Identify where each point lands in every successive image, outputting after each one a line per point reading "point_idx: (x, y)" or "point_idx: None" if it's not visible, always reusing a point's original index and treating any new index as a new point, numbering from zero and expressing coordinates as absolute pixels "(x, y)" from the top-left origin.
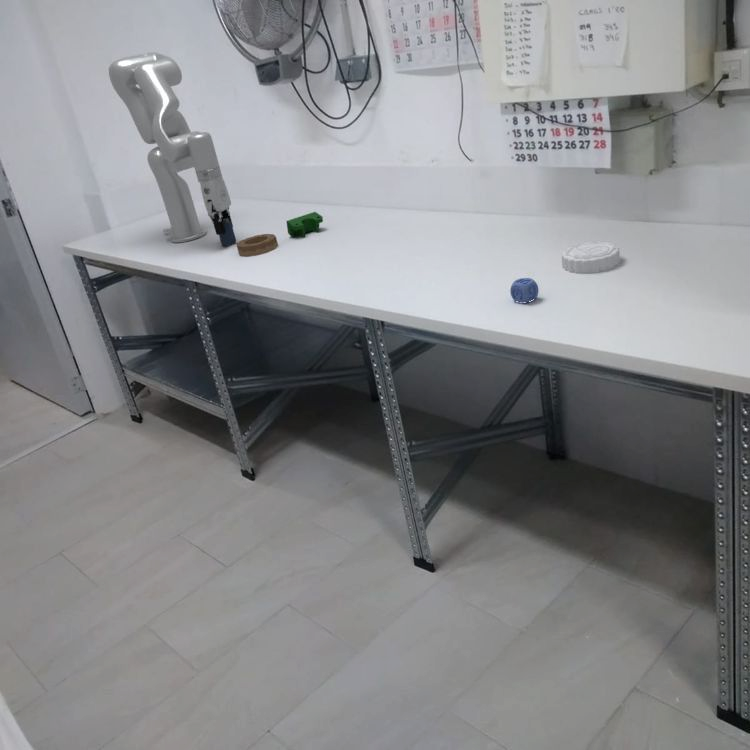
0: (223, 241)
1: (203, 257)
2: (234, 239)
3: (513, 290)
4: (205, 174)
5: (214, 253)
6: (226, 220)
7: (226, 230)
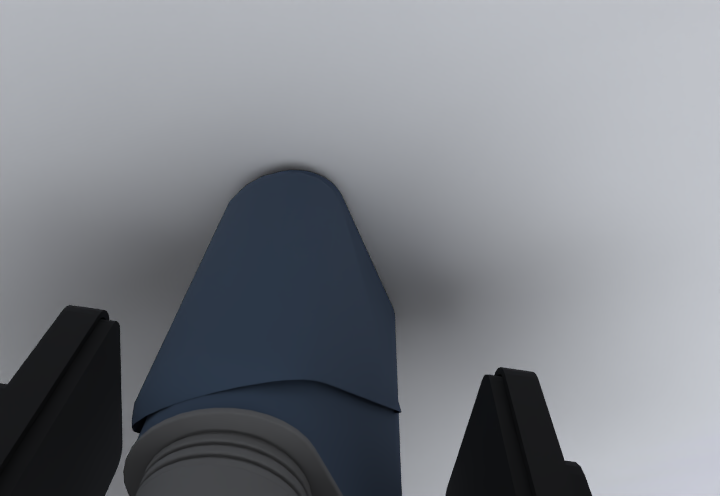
0: (394, 350)
1: (710, 468)
2: (321, 196)
3: None
4: None
5: (638, 378)
6: None
7: (363, 385)
